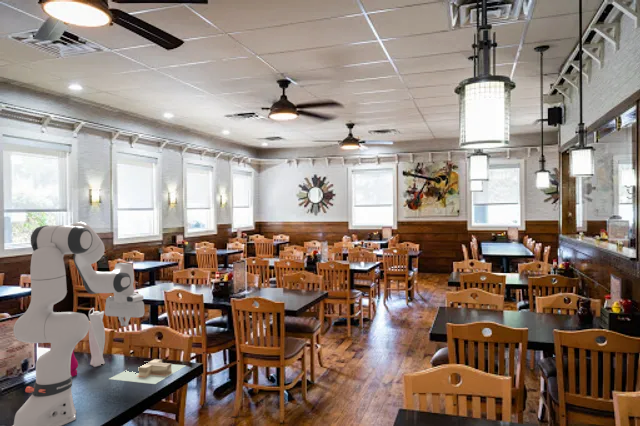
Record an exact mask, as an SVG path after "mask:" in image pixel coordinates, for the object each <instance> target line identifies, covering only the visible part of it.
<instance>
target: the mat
mask: <svg viewBox="0 0 640 426" xmlns="http://www.w3.org/2000/svg"><path fill="white" fill-rule="evenodd" d="M170 364H171V368H172V372H171V373H169V374H168V375H159V374H150V375H148V376H147V377H142V376H139V373H136V372H133V371H132V372H129V371H127V369H126V370H124V371H121V372H119V373H117V374H115V375H114V376H112V377H109V378H108V380H114V381H123V382H133V383H141V384H151V385H157V384H158V383H159V382H161V381H163V380H165V379H166V378H168V377H169V376H171V375H173V374H175V373H177V372H178V371H179V370H181V369H183V368H185V367H186V366H187V365H184V364H173V363H170ZM125 371H126V372H125ZM135 373H136V374H135Z"/></svg>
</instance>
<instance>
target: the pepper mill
mask: <svg viewBox="0 0 640 426" xmlns="http://www.w3.org/2000/svg"><path fill="white" fill-rule="evenodd" d="M75 349H76V347H75V348H74V349H73V352H72V355H71V365H70V375H71V376H72V378H73V377H75V376H77V375H78V370H77V369H78V367H79V362H78V359H77V358H76V356H75Z"/></svg>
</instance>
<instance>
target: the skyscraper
mask: <svg viewBox="0 0 640 426" xmlns="http://www.w3.org/2000/svg"><path fill="white" fill-rule="evenodd" d="M91 311H92V313H91ZM104 315H105V310H102V311H100V310H96V311H95V308H94V307H92V308H90V309H89V311H88V319H89V322H90V328H89V331H88V340H89V341H88V343H89V349H90V350H89V351H90V355H91V359H90V363H89V365H90V366H93V367H94V368H96V367H100V366H102V365H101V364H103V365H106V362H105V359H104V355H103V354H104V349H105V342H106V331H105V326H104V322H103V319H104Z"/></svg>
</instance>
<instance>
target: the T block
mask: <svg viewBox="0 0 640 426" xmlns="http://www.w3.org/2000/svg"><path fill="white" fill-rule="evenodd" d="M147 362H148V363H146V364H144V365H142V366H140V367H138V371H139V376H142V377H147V376H148V375H150V374H159V375H168V374H169V373H171V372H172V368H171V364H172V363H167V362H163V360H162V359H158V358H154V359H152V360H150V361H147Z"/></svg>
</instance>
